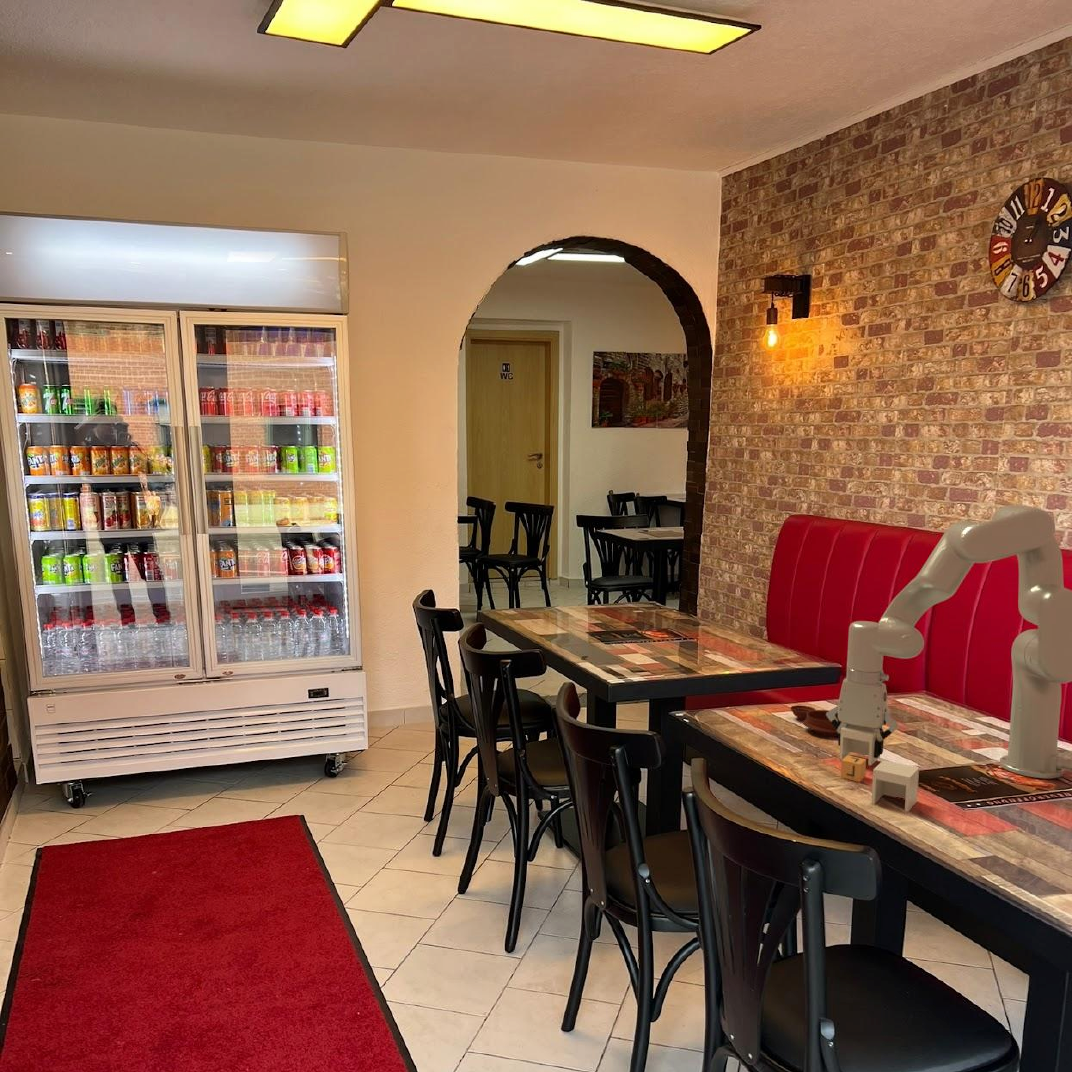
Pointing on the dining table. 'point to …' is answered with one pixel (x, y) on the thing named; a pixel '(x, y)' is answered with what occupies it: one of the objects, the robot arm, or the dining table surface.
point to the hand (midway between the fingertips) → (860, 752)
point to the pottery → (815, 720)
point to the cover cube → (858, 742)
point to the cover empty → (895, 782)
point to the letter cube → (853, 768)
